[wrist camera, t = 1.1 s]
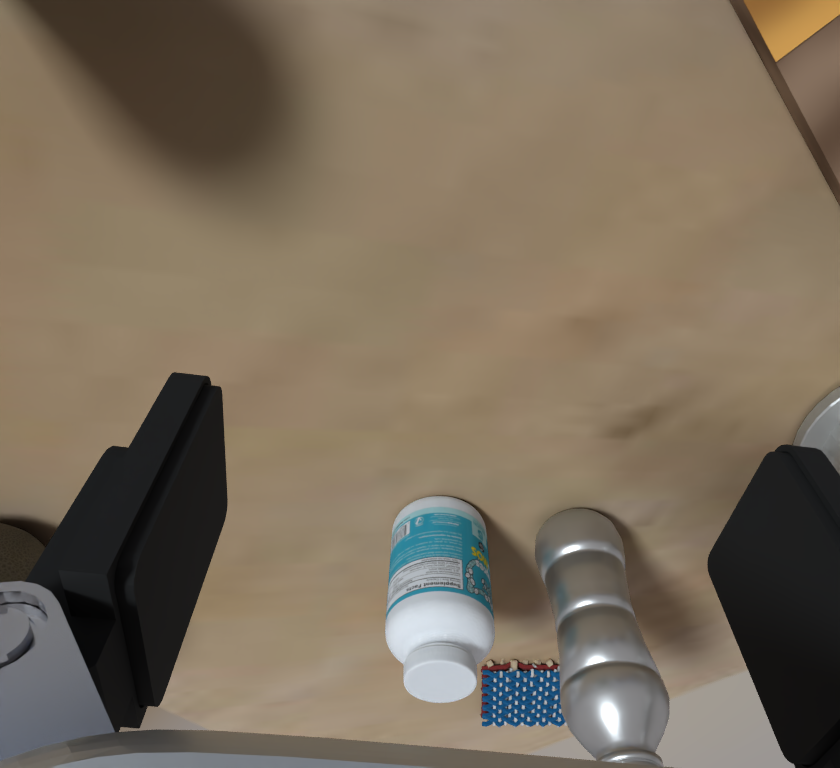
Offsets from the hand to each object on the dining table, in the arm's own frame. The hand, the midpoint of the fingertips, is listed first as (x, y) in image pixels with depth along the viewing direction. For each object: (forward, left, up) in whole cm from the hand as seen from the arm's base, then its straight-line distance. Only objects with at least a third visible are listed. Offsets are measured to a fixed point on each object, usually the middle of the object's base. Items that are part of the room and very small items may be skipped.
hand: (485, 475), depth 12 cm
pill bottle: (-24, +21, -29) cm, 43 cm away
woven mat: (-48, +29, -29) cm, 63 cm away
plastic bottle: (-31, +13, -29) cm, 44 cm away
